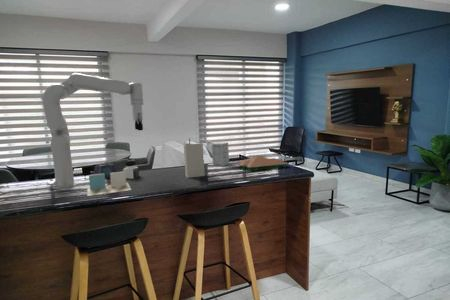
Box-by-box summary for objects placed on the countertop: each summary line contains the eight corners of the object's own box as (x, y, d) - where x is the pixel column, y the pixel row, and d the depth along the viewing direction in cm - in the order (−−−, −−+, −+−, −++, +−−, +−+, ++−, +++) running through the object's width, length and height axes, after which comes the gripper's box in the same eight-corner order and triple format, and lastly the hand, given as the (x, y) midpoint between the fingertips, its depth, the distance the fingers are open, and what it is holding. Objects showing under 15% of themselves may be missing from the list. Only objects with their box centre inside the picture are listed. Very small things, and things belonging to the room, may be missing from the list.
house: (233, 166, 223) (233, 155, 222) (273, 162, 234) (273, 152, 232) (245, 172, 202) (245, 160, 201) (288, 168, 212) (288, 156, 211)
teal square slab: (90, 190, 166) (88, 175, 165) (90, 189, 168) (88, 175, 166) (105, 187, 169) (104, 174, 168) (105, 187, 171) (104, 173, 170)
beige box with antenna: (204, 176, 195) (203, 137, 192) (187, 178, 191) (185, 138, 187) (201, 174, 202) (199, 136, 199) (184, 176, 198) (182, 137, 195)
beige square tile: (111, 187, 170) (110, 173, 169) (111, 186, 172) (109, 172, 171) (126, 185, 173) (125, 171, 172) (125, 184, 175) (124, 171, 174)
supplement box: (229, 164, 230) (228, 142, 228) (223, 166, 223) (222, 144, 220) (219, 163, 235) (218, 142, 233) (212, 165, 228) (211, 143, 225)
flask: (99, 179, 194) (98, 163, 193) (100, 178, 197) (98, 162, 196) (115, 177, 197) (113, 161, 196) (115, 177, 200) (113, 161, 199)
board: (87, 197, 155) (87, 196, 154) (87, 189, 171) (87, 187, 171) (131, 191, 163) (131, 189, 163) (127, 184, 180) (127, 182, 180)
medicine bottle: (134, 180, 190) (132, 161, 188) (123, 179, 191) (122, 161, 189) (139, 177, 197) (138, 159, 195) (129, 177, 198) (127, 159, 196)
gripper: (129, 103, 196) (131, 129, 198) (132, 102, 180) (134, 131, 183) (140, 102, 199) (142, 128, 201) (145, 102, 183) (147, 130, 186)
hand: (139, 129), depth 192 cm, fingers open, 9 cm apart
